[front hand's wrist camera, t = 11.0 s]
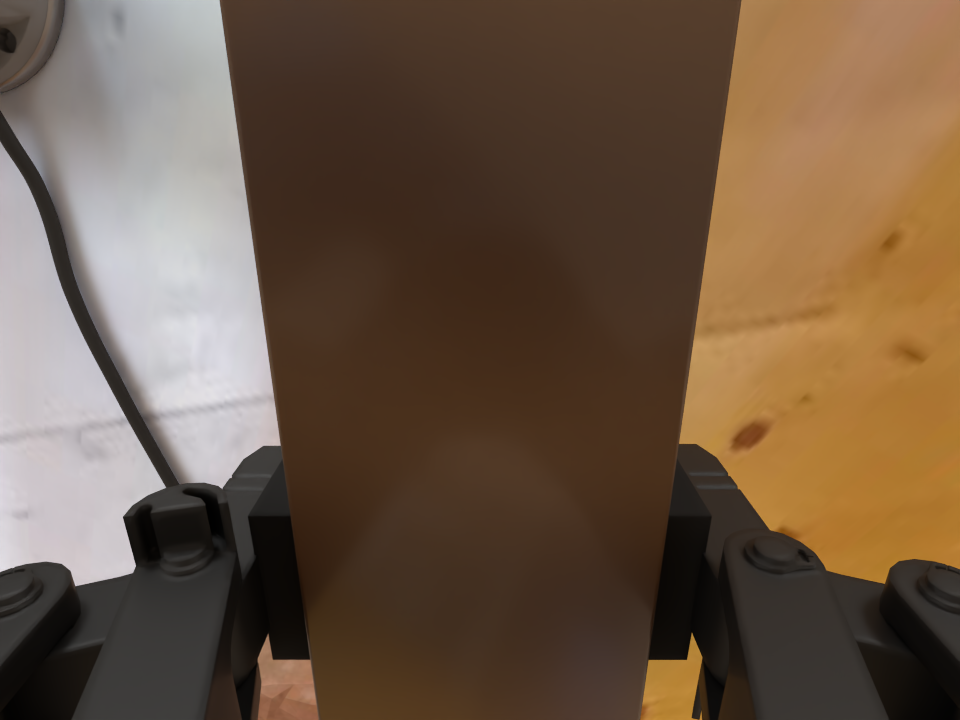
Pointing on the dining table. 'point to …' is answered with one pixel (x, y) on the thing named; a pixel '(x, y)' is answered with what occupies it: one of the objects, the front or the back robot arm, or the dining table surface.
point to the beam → (479, 331)
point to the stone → (285, 688)
